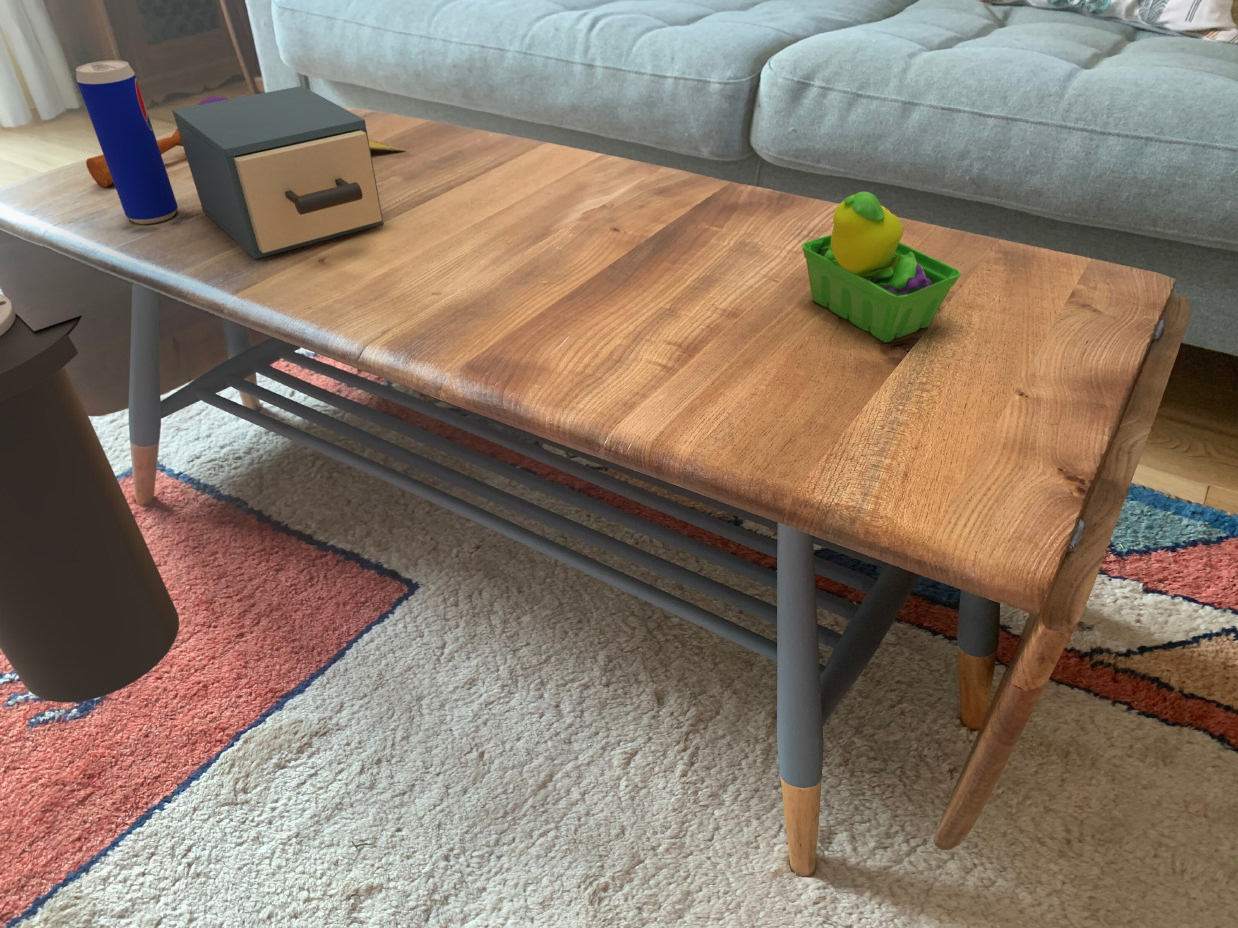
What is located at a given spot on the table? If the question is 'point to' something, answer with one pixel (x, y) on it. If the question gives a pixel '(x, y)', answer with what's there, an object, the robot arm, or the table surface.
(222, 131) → the cabinet
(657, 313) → the table surface
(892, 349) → the table surface
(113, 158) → the beverage can
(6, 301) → the robot arm
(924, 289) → the fruit basket
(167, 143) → the kendama
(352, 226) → the drawer
